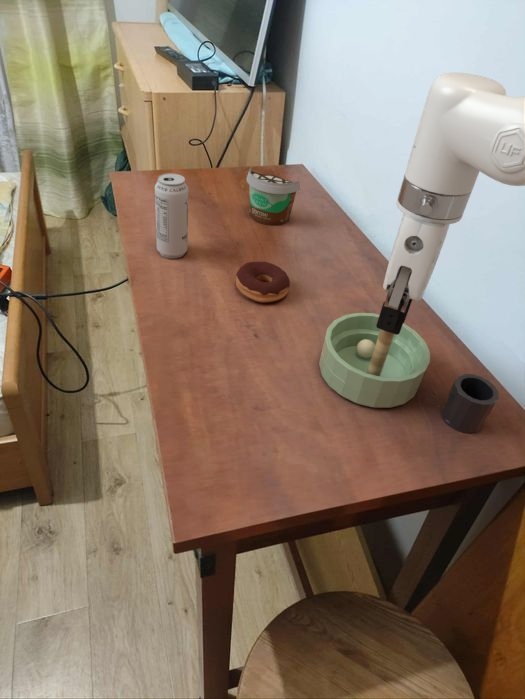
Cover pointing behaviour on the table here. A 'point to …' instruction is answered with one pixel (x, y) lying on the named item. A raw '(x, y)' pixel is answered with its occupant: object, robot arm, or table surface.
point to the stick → (380, 352)
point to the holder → (469, 403)
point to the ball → (365, 348)
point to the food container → (271, 198)
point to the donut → (257, 290)
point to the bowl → (351, 369)
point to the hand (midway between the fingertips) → (390, 324)
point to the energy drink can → (171, 215)
